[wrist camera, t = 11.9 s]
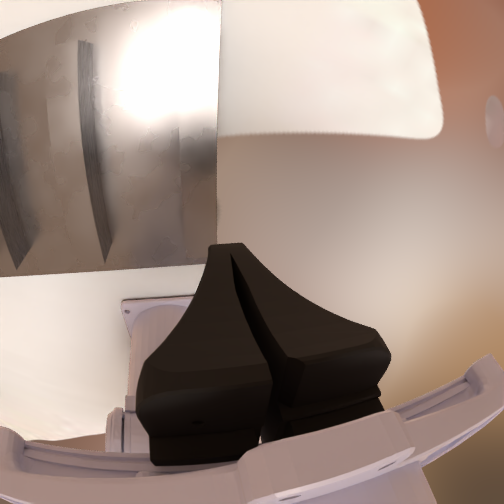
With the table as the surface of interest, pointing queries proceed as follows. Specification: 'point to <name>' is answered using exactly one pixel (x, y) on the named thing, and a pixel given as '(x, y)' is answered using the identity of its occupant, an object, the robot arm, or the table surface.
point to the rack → (110, 139)
